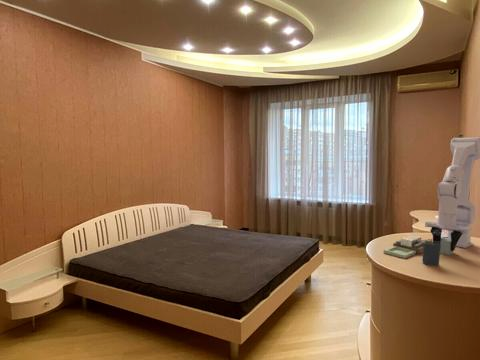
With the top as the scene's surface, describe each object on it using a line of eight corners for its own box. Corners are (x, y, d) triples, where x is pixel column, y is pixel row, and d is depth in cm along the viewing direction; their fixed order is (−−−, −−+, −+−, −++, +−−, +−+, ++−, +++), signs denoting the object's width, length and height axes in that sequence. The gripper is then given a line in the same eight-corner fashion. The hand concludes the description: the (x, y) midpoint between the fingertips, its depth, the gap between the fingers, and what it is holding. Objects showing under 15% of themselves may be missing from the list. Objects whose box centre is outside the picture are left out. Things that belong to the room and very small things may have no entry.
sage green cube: (440, 249, 127) (441, 237, 126) (453, 252, 123) (454, 239, 123) (436, 252, 124) (437, 239, 123) (449, 255, 120) (450, 241, 120)
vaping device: (440, 265, 109) (443, 230, 108) (423, 264, 110) (425, 230, 109) (437, 263, 112) (439, 229, 110) (421, 262, 113) (423, 228, 112)
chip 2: (410, 241, 132) (410, 235, 131) (420, 243, 128) (421, 237, 128) (405, 242, 129) (406, 236, 129) (416, 245, 126) (416, 238, 126)
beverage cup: (445, 238, 143) (447, 207, 141) (431, 235, 148) (433, 205, 147) (452, 237, 146) (454, 206, 144) (438, 234, 151) (440, 204, 150)
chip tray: (394, 248, 128) (394, 245, 128) (415, 253, 122) (416, 250, 121) (383, 253, 122) (383, 249, 122) (405, 258, 116) (405, 255, 116)
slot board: (409, 241, 138) (410, 235, 137) (434, 247, 130) (434, 239, 130) (393, 248, 129) (393, 240, 128) (418, 254, 121) (418, 246, 121)
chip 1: (405, 243, 129) (405, 236, 129) (416, 245, 126) (416, 239, 126) (400, 244, 126) (401, 238, 126) (411, 247, 123) (411, 240, 123)
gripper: (422, 211, 125) (420, 246, 127) (466, 218, 114) (463, 255, 115) (430, 209, 130) (428, 243, 131) (472, 215, 118) (470, 251, 120)
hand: (445, 248), depth 123 cm, fingers closed on sage green cube, 4 cm apart
